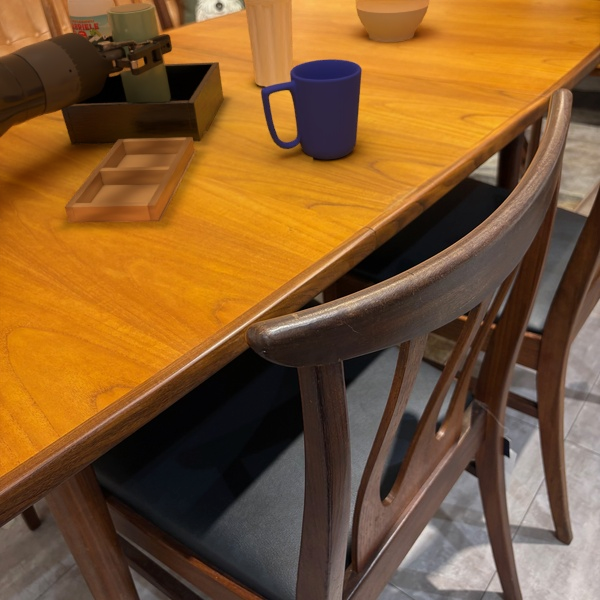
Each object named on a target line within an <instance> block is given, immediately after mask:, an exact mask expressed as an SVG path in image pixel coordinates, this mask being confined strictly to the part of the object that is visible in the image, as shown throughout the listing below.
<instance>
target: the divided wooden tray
mask: <svg viewBox="0 0 600 600" xmlns="http://www.w3.org/2000/svg"><path fill="white" fill-rule="evenodd" d="M196 153H197V150H196V149H195V144H194V141H193V137H187V138H186V137H183V138H146V139H118V140H117V142H116V143H113V145H112V147H111V148H110V149H109V150H108V151H107V152H106V154H105V155H104V157H102V159H101V161H100V162H98V164H97V165H96V167H95V168H94V169H93V171H91V173H90V174H89V175H88V177H87V178H86V179H85V181H83V183H81V185H80V186H79V188H78V189H77V191H76V192H75V193H74V194H73V195H72V197H71V198H70V199H69V201H67V203H66V204H65V205H64V210H65V212H66V217H67V219H68V221H67V223H132V222H134V223H135V222H136V223H137V222H161V221H162V219H163V217H164V215H165V213H166V211H167V209H168V207H169V206H170V203H171V202H172V199H173V198H174V195H176V192H177V190H178V188H179V186H180V184H181V182H182V180H183V179H184V177H185V174H186V173H187V170H188V169H189V167H190V165H191V163H192V161H193V159H194V158H195V155H196Z"/></svg>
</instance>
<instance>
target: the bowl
mask: <svg viewBox="0 0 600 600" xmlns="http://www.w3.org/2000/svg"><path fill="white" fill-rule="evenodd" d="M429 5H430V0H355V9H356V14H357V17H358V18H359V22H360V23H361V25H362V26H363V28H364V29H365V30H366V32H367V34H368V39H370V40H371V41H375V42H381V43H397V42H403V41H404V42H405V41H408V40H411V39H412V38H414V37H415V32H416V30H417V29H418V28H419V26H420V25H421V24H422V22H423V20H424V18H425V16H426V14H427V12H428V8H429Z"/></svg>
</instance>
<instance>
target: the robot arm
mask: <svg viewBox="0 0 600 600" xmlns="http://www.w3.org/2000/svg"><path fill="white" fill-rule="evenodd" d="M171 39H172V38H171V36H170V34H168V33H163V34H160V35H159V36H157V37H154V38H151V39H146V40H144V41H139V42H135V41H133V40H131V39H127V40H122V41H116V42H113V39H112V35H111V36H109V37H108V36H105V35H102V36H100V37H95V36H92V35H90V36H88V37H84V36H82V35H80V34H77V33H73V32H66V33H63V34H60V35H57V36H54V37H51V38H47V39H43V40H40V41H37V42H34V43H31V44H28V45H25V46H23V47H20V48H18V49H16V50H14V51H13V52H10V53H8V54H5V55H1V56H0V139H1V138H2V137H3V136H4V135H5V134H7V132H8V131H10V130H11V129H12V128H13V127H16V126H20V125H22V124H24V123H27V122H28V121H31V120H33V119H36V118H38V117H42V116H44V115H49V114H53V113H56V112H59V111H61V110H62V109H64V108H66V107H69V106H71V105H74V104H76V103H78V102H81V101H83V100H86V99H88V98H90V97H93V96H95V95H97V94H99V93H100V92H101V91H102V89H103V87H104V84H105V81H106V78H107V77H112V76H116V75H119V74H120V73H121V72H125V71H130V70H131V74H132V75H135V76H137V75H139V74H142V73H144V72H146V71H148V70H150V69H152V68H154V67H156V66H158V65H160V64H162V63H163V58H162V55H166V54H168V53H171V52H172V50H173V46H172V40H171ZM125 46H128V50H129V53H127V55H128V57H126V52H125V49H124V48H123V47H125ZM140 47H141V48H140Z"/></svg>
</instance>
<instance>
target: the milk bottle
mask: <svg viewBox="0 0 600 600" xmlns="http://www.w3.org/2000/svg"><path fill="white" fill-rule="evenodd" d="M66 3H67V10H68V16H69V20H70V24H71V29H72V33H77V34H80V35H82V36H84V37H88V36H90V35H92V36H95V37H100V36H102V35H105V36H108V37H109V36H111V30H110V26H109V21H108V17H107V13H106V10H107V9H109V8H112V7H115V6H116V3H115V1H114V0H67V2H66Z"/></svg>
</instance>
